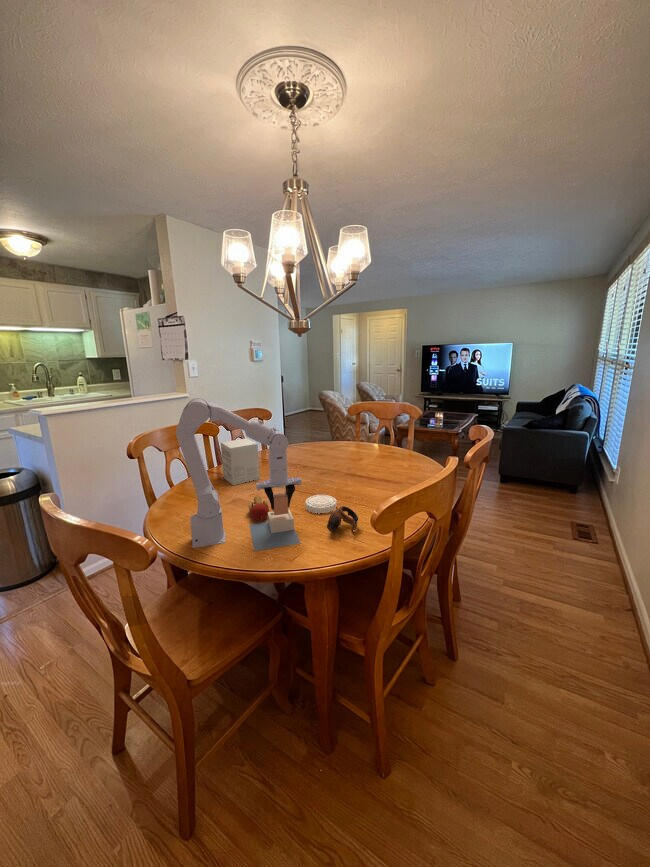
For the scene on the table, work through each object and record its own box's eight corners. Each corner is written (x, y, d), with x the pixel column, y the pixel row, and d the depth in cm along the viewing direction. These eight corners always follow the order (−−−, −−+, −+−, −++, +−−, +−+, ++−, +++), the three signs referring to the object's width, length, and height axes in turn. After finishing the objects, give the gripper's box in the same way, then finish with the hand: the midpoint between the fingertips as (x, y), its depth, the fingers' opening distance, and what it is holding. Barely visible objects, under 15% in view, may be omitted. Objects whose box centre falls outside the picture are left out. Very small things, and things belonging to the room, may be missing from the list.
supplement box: (248, 471, 168) (246, 437, 164) (260, 479, 157) (258, 443, 154) (222, 477, 160) (219, 442, 157) (232, 485, 150) (229, 448, 146)
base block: (271, 533, 109) (270, 522, 108) (268, 522, 116) (267, 512, 115) (294, 529, 111) (293, 519, 110) (289, 519, 118) (289, 509, 117)
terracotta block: (274, 515, 109) (273, 498, 108) (272, 509, 113) (271, 493, 112) (288, 513, 110) (287, 496, 109) (285, 507, 115) (285, 491, 113)
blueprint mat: (254, 552, 99) (254, 551, 99) (249, 525, 115) (249, 524, 115) (300, 544, 103) (300, 543, 103) (290, 519, 119) (290, 518, 118)
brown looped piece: (332, 520, 119) (344, 501, 117) (352, 538, 115) (365, 520, 113) (315, 526, 108) (327, 506, 106) (336, 547, 104) (350, 526, 102)
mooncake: (300, 505, 130) (299, 497, 129) (327, 499, 135) (327, 491, 135) (313, 518, 120) (313, 509, 119) (342, 511, 125) (342, 502, 124)
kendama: (245, 507, 132) (247, 522, 115) (247, 491, 132) (249, 504, 114) (265, 508, 134) (270, 523, 117) (267, 492, 134) (272, 505, 116)
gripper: (256, 474, 103) (259, 515, 106) (303, 469, 107) (304, 509, 110) (254, 467, 109) (257, 506, 112) (298, 463, 113) (299, 500, 117)
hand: (280, 507), depth 112 cm, fingers closed on terracotta block, 4 cm apart
